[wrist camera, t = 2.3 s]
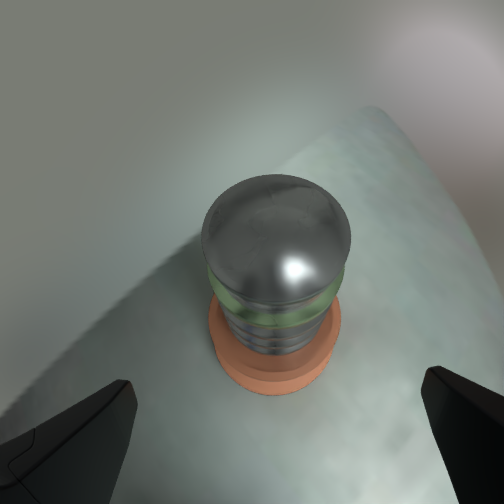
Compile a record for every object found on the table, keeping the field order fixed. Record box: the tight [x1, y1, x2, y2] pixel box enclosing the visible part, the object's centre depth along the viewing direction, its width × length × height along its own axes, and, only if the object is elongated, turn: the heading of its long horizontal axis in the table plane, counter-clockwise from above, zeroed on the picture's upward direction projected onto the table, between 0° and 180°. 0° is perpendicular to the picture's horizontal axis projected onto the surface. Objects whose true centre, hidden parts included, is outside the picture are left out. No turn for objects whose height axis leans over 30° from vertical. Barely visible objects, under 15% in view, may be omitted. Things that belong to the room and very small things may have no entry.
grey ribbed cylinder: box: [201, 174, 351, 356], centre depth 12 cm, size 5×5×8 cm
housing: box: [208, 293, 341, 395], centre depth 18 cm, size 8×8×5 cm
